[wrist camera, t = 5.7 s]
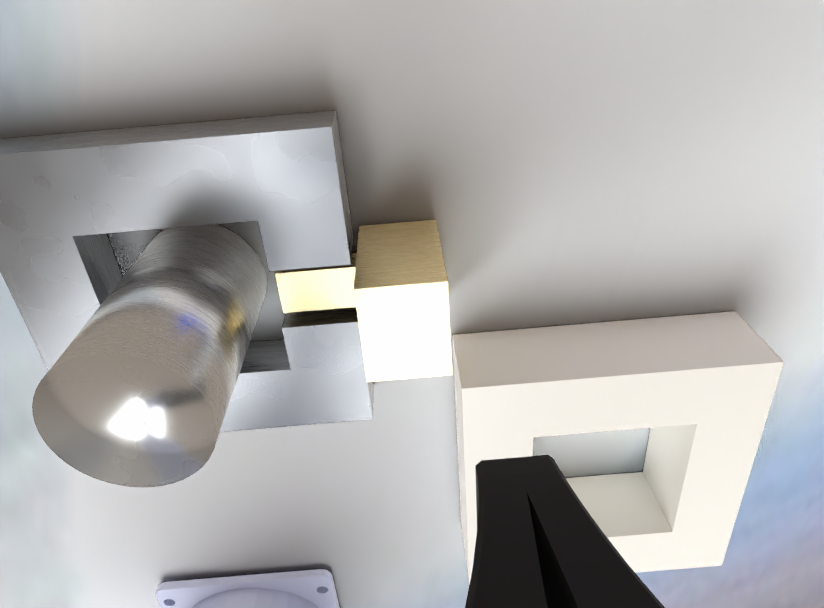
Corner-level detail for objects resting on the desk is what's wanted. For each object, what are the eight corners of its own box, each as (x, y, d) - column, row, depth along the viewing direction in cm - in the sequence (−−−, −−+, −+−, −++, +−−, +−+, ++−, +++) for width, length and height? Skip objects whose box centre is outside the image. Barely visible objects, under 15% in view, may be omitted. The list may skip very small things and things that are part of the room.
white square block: (688, 504, 26) (721, 565, 24) (461, 523, 26) (469, 586, 24) (735, 311, 21) (784, 362, 19) (452, 334, 21) (461, 388, 19)
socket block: (373, 386, 22) (372, 419, 21) (104, 408, 22) (83, 443, 21) (335, 110, 17) (331, 126, 15) (-15, 139, 17) (-55, 159, 16)
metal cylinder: (277, 324, 21) (234, 479, 15) (161, 334, 21) (71, 493, 15) (253, 216, 19) (190, 346, 13) (124, 227, 19) (1, 362, 13)
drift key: (440, 301, 20) (452, 375, 17) (292, 314, 20) (274, 390, 17) (436, 219, 19) (447, 281, 15) (275, 233, 19) (251, 297, 15)
